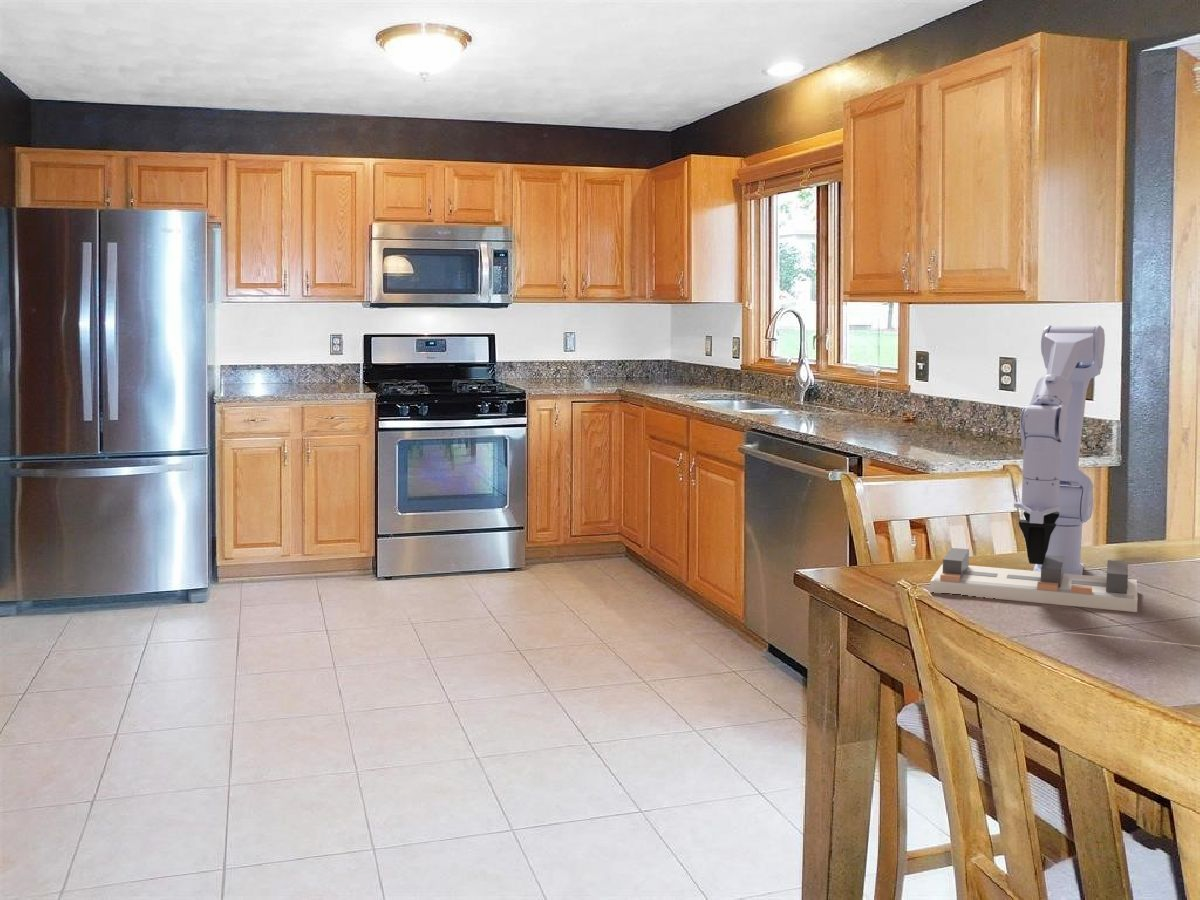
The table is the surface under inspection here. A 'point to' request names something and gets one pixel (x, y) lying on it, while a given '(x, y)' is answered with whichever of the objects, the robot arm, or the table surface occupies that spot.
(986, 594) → the switch panel
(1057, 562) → the slider middle
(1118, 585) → the slider
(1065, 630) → the table surface
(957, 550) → the slider
